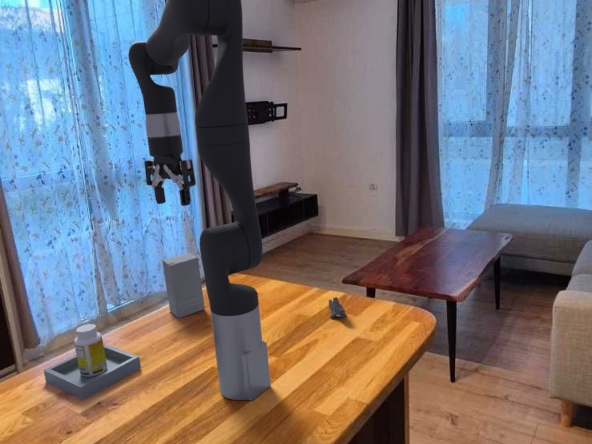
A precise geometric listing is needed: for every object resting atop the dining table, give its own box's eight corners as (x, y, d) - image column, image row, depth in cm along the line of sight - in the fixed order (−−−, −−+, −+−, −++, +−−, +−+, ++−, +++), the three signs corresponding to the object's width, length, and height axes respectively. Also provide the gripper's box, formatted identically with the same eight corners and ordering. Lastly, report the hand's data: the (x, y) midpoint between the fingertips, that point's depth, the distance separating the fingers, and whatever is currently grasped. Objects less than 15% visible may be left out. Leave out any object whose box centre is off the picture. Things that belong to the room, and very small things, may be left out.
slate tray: (141, 368, 112) (139, 356, 112) (83, 400, 101) (80, 387, 101) (103, 353, 120) (101, 342, 120) (45, 382, 109) (43, 370, 109)
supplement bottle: (110, 363, 114) (103, 321, 111) (103, 376, 108) (95, 332, 106) (84, 366, 113) (76, 323, 111) (76, 379, 108) (68, 335, 105)
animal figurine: (323, 313, 137) (321, 294, 137) (339, 310, 138) (337, 292, 138) (335, 323, 125) (333, 303, 125) (352, 320, 126) (350, 300, 126)
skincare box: (196, 303, 147) (189, 251, 143) (206, 311, 141) (199, 256, 138) (168, 312, 142) (160, 257, 139) (177, 320, 137) (169, 263, 133)
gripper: (198, 131, 115) (206, 202, 118) (156, 133, 123) (165, 199, 127) (172, 135, 109) (182, 209, 112) (130, 136, 117) (140, 205, 121)
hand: (173, 204), depth 119 cm, fingers open, 8 cm apart
